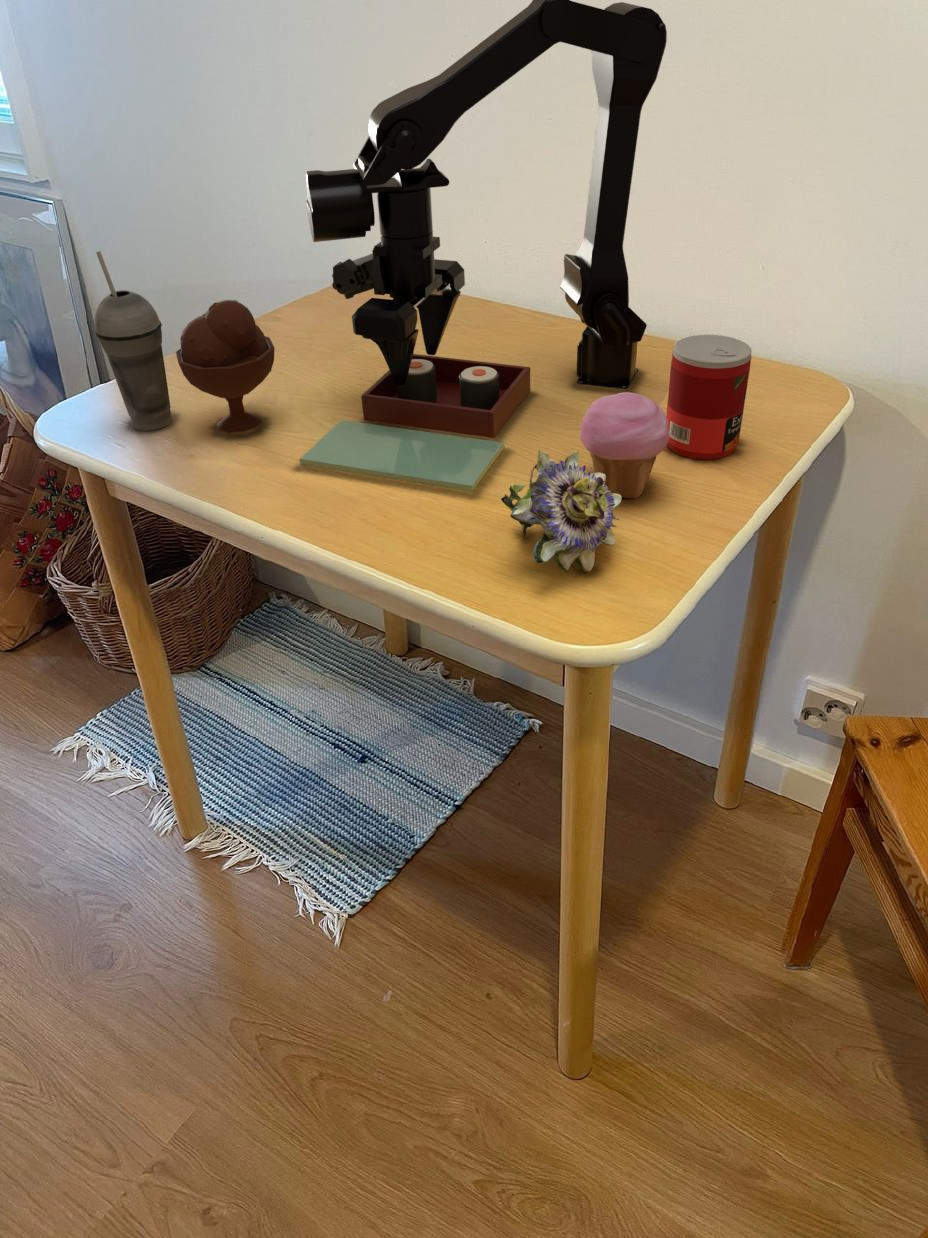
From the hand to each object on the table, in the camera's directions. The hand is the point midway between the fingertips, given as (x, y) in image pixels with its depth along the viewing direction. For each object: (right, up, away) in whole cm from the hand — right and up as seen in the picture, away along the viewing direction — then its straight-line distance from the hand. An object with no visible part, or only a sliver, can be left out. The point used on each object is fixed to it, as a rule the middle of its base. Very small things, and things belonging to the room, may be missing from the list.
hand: (416, 369), depth 113 cm
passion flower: (+14, -23, -24) cm, 36 cm away
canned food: (+32, -11, -8) cm, 34 cm away
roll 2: (+8, -5, 0) cm, 9 cm away
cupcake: (+22, -16, -15) cm, 31 cm away
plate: (-1, -12, -8) cm, 15 cm away
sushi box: (+4, -4, +2) cm, 6 cm away
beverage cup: (-32, -6, +2) cm, 32 cm away
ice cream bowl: (-21, -7, 0) cm, 22 cm away
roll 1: (0, -3, +2) cm, 4 cm away
